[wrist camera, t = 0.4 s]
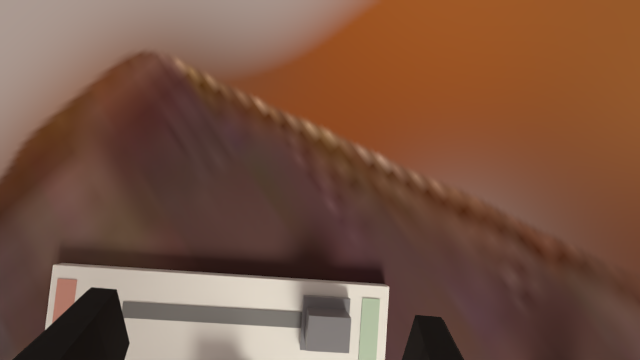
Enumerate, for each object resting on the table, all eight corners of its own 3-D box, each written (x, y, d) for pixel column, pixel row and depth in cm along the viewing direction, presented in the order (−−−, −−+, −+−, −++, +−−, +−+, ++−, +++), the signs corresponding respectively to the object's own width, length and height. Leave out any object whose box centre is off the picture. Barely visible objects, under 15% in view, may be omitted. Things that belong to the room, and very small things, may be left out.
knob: (345, 349, 35) (352, 365, 32) (299, 346, 35) (301, 362, 31) (349, 297, 36) (356, 307, 32) (303, 294, 36) (305, 303, 32)
